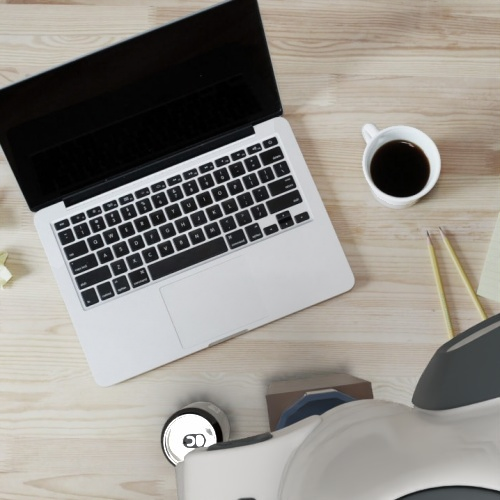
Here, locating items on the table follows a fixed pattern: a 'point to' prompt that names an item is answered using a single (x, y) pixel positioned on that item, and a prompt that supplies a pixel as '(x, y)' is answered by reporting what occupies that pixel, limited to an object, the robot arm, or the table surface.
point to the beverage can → (193, 430)
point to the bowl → (311, 405)
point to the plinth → (291, 389)
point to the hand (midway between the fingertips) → (350, 457)
